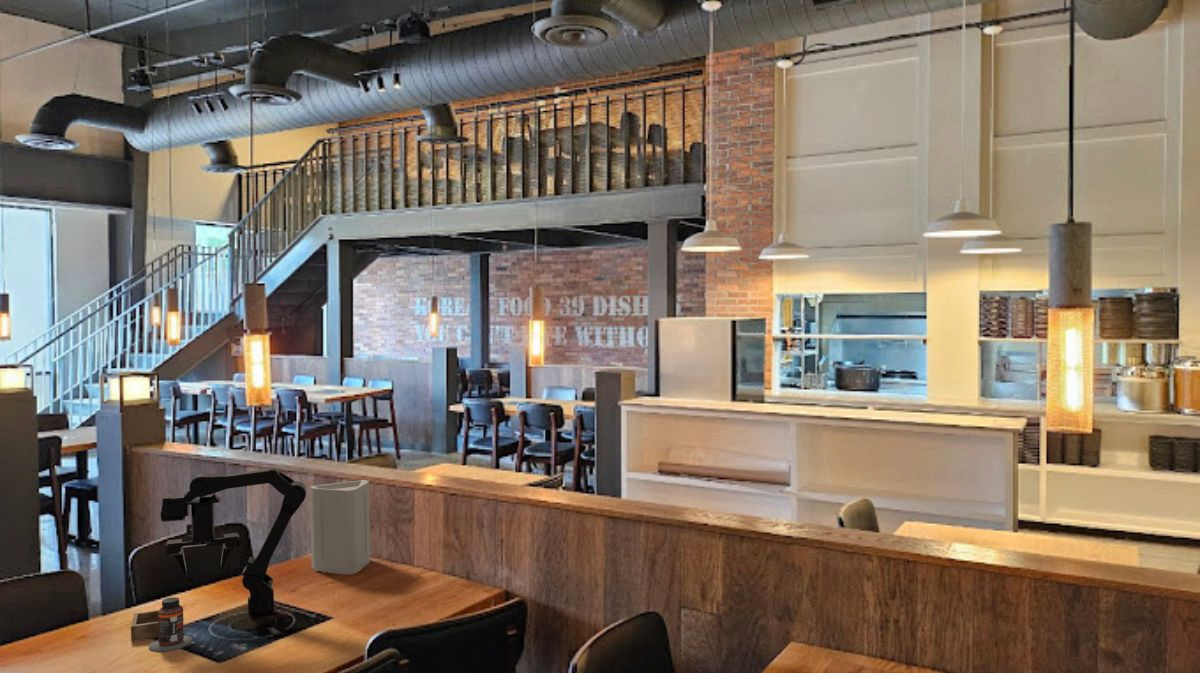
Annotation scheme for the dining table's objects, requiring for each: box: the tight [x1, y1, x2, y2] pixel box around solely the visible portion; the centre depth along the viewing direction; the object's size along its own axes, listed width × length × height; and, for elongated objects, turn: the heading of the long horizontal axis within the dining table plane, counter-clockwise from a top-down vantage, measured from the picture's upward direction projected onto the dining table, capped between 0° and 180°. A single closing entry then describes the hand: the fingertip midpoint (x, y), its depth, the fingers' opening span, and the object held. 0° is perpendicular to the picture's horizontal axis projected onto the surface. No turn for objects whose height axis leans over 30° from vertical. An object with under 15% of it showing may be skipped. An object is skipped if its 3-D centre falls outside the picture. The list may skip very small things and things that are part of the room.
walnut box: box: [130, 609, 160, 642], centre depth 225 cm, size 11×11×4 cm
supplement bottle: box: [157, 596, 185, 646], centre depth 216 cm, size 6×6×11 cm
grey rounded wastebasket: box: [309, 479, 371, 576], centre depth 280 cm, size 19×15×28 cm
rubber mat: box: [148, 634, 193, 653], centre depth 216 cm, size 10×10×1 cm
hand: (203, 573), depth 234 cm, fingers open, 9 cm apart
